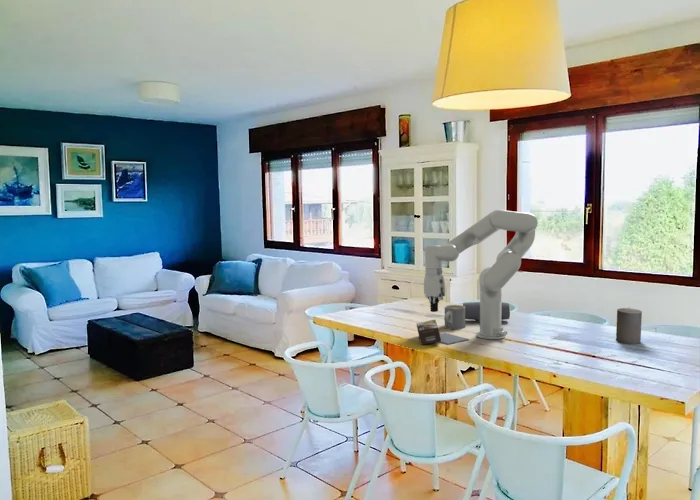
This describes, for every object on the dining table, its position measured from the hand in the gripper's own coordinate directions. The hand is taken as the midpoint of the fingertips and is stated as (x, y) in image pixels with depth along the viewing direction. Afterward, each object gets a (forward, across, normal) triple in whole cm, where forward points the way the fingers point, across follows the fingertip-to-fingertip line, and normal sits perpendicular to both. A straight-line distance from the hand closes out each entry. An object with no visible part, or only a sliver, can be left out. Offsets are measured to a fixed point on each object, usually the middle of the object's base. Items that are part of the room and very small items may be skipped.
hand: (434, 311), depth 255 cm
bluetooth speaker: (+12, +6, -42) cm, 44 cm away
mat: (+12, -8, 0) cm, 14 cm away
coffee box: (+7, +2, +3) cm, 8 cm away
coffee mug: (+12, +7, -19) cm, 23 cm away
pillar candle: (+12, -59, -58) cm, 84 cm away
